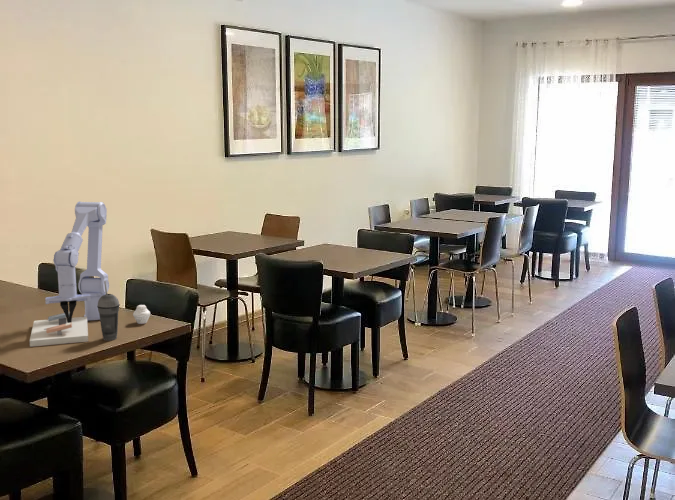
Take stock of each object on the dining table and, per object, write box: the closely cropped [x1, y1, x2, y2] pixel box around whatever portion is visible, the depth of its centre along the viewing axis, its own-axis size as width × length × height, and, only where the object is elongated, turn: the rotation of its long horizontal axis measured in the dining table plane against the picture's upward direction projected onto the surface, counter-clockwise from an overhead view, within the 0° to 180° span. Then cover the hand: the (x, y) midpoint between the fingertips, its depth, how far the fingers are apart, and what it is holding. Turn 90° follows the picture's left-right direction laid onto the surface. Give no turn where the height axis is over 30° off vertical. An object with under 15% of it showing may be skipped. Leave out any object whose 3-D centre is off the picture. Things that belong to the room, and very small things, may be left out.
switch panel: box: [29, 316, 89, 348], centre depth 240 cm, size 18×26×3 cm
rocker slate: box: [47, 312, 66, 321], centre depth 247 cm, size 8×3×1 cm, turn 110°
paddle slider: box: [59, 317, 66, 325], centre depth 240 cm, size 2×3×3 cm
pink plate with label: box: [46, 322, 72, 333], centre depth 232 cm, size 8×3×1 cm, turn 110°
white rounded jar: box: [132, 304, 151, 325], centre depth 254 cm, size 6×6×7 cm
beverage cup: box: [97, 281, 120, 342], centre depth 233 cm, size 7×7×20 cm
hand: (69, 322), depth 241 cm, fingers closed
